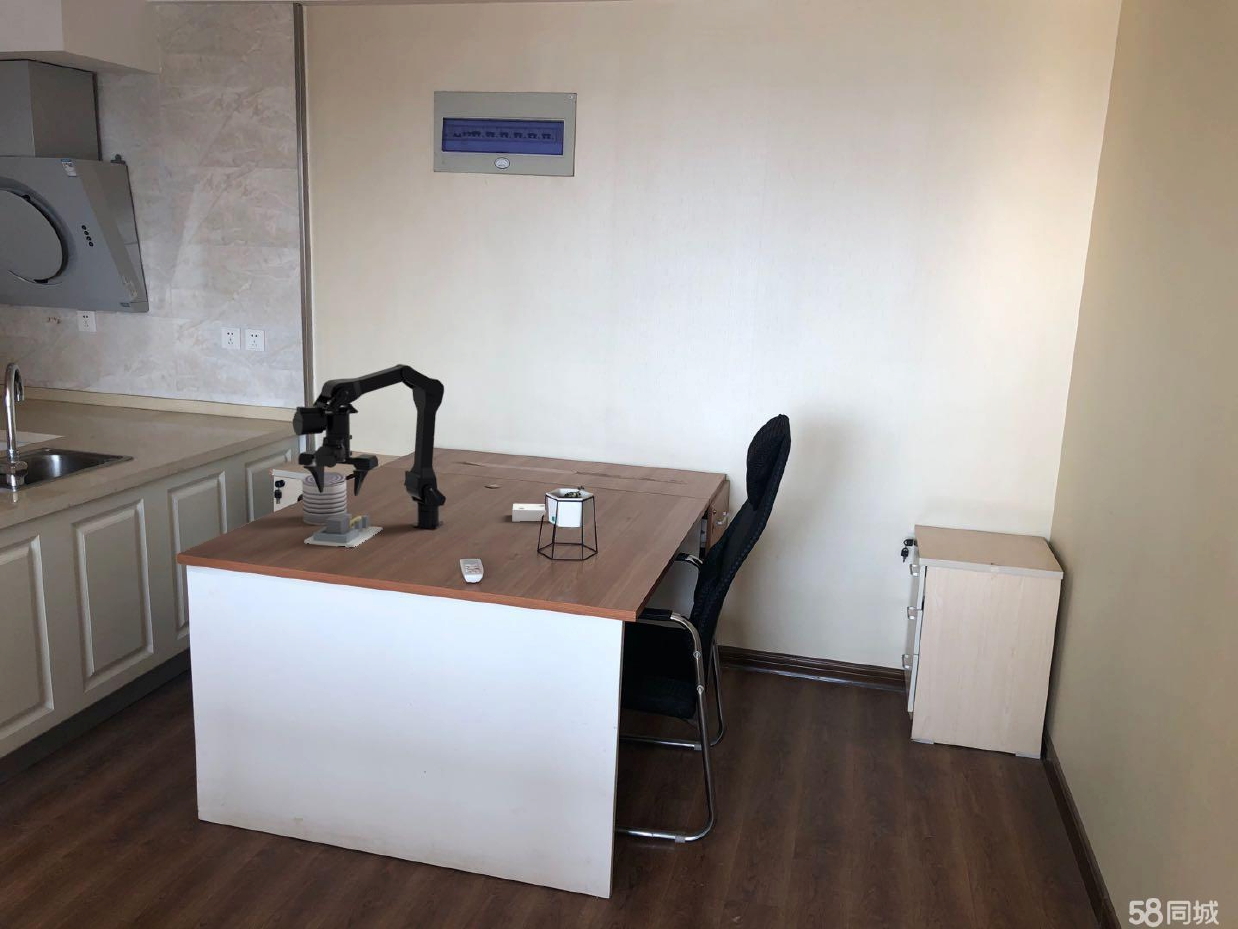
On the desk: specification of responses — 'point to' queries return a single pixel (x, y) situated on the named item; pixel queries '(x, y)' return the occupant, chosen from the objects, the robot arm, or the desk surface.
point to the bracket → (528, 512)
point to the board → (350, 539)
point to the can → (324, 498)
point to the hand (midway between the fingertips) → (338, 494)
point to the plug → (340, 524)
